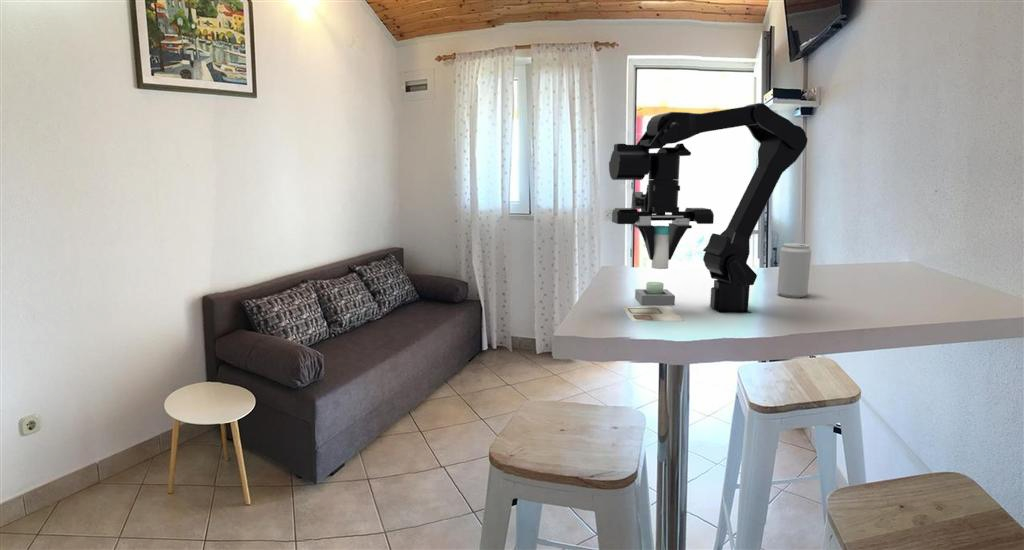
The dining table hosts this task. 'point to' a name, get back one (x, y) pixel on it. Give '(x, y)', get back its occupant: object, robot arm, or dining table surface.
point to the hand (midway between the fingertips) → (660, 259)
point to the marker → (661, 247)
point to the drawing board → (651, 313)
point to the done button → (654, 288)
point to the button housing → (654, 298)
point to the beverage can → (794, 270)
